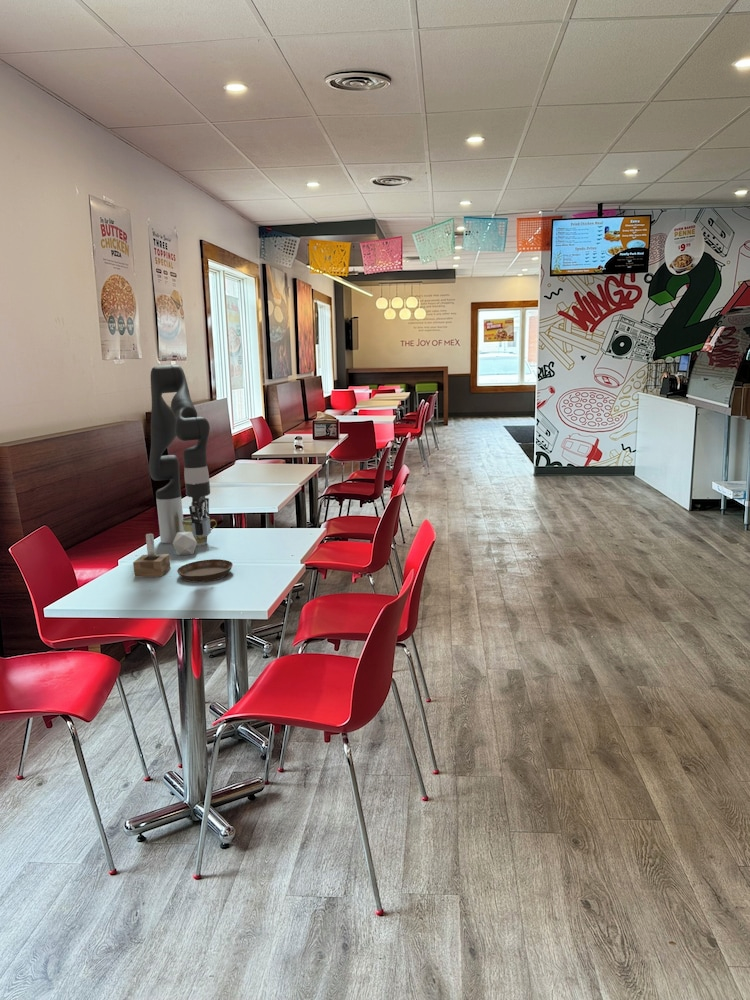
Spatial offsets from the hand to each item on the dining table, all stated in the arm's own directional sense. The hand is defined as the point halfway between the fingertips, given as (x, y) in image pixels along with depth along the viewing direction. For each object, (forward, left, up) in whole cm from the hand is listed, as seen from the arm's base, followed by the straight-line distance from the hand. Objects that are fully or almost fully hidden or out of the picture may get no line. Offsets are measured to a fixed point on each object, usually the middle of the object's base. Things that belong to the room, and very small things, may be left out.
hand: (201, 532), depth 240 cm
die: (-27, -15, -14) cm, 34 cm away
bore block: (-4, -19, -14) cm, 24 cm away
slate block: (0, 0, -1) cm, 1 cm away
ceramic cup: (-40, -13, -14) cm, 44 cm away
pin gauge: (-4, -19, -13) cm, 23 cm away
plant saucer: (0, 0, -15) cm, 15 cm away
